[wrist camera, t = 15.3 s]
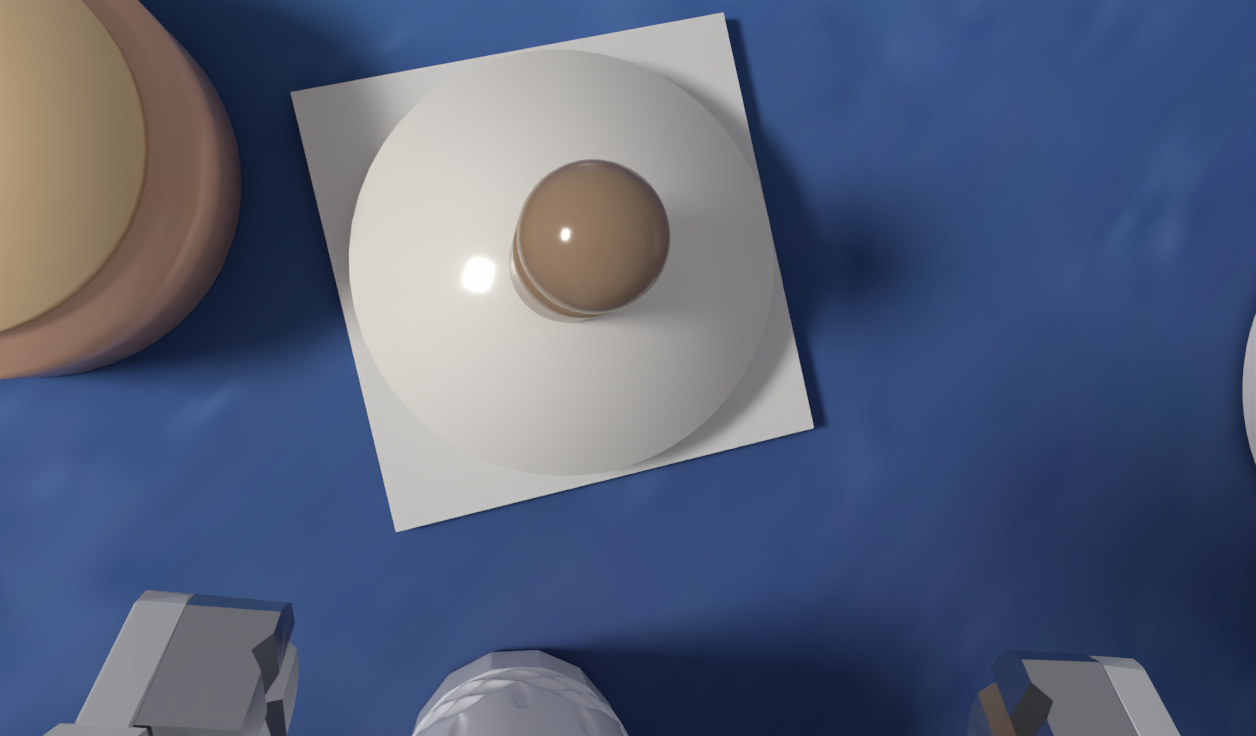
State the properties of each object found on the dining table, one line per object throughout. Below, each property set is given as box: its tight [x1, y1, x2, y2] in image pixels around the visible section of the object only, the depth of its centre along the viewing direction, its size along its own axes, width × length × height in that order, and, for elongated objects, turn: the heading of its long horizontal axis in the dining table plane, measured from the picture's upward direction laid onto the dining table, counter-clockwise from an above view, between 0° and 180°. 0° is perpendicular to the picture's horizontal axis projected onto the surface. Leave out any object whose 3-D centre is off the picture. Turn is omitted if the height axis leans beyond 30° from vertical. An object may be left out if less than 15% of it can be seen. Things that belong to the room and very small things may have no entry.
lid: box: [349, 50, 774, 476], centre depth 26 cm, size 13×13×10 cm
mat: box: [290, 13, 814, 532], centre depth 32 cm, size 14×14×1 cm
